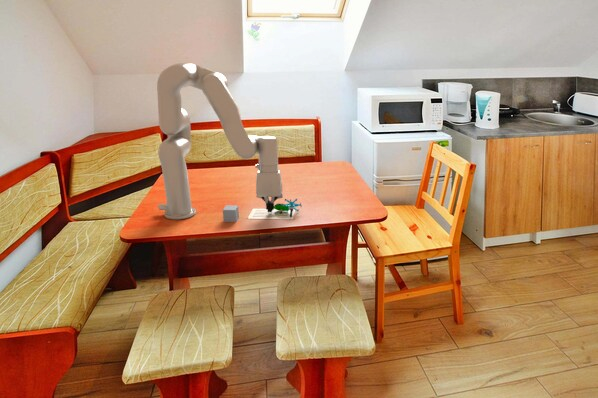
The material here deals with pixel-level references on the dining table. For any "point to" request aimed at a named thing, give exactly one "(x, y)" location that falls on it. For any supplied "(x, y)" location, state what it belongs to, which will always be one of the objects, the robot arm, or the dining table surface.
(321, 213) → the dining table surface
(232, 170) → the dining table surface
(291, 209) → the stick construction toy
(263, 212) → the letter
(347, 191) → the dining table surface
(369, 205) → the dining table surface
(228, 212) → the cube
